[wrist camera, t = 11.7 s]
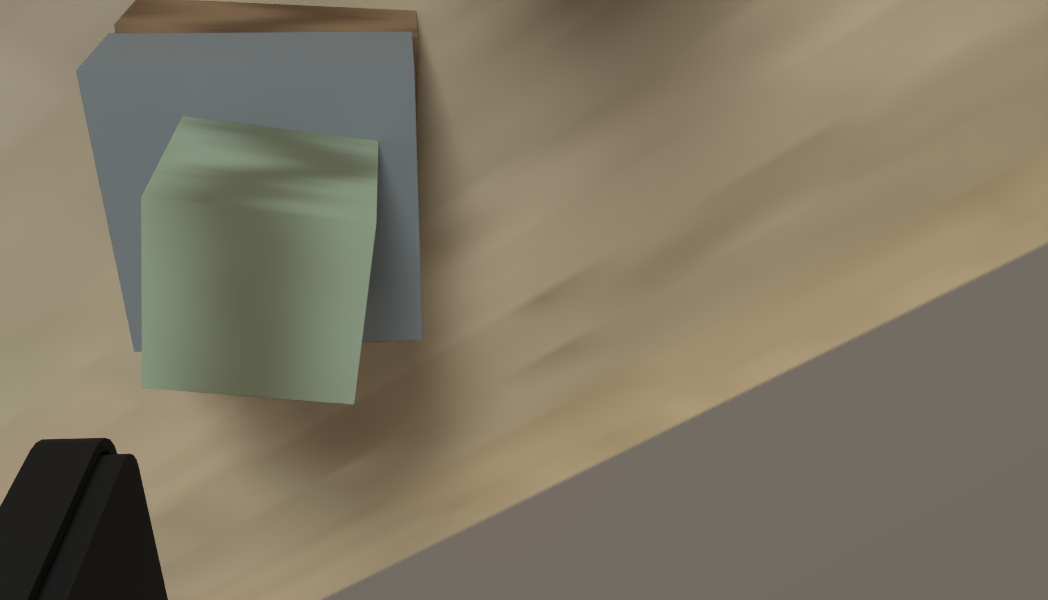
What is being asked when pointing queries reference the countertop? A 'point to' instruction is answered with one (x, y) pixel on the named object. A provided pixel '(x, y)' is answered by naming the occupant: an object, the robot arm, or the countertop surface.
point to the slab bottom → (263, 20)
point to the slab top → (272, 101)
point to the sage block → (257, 261)
